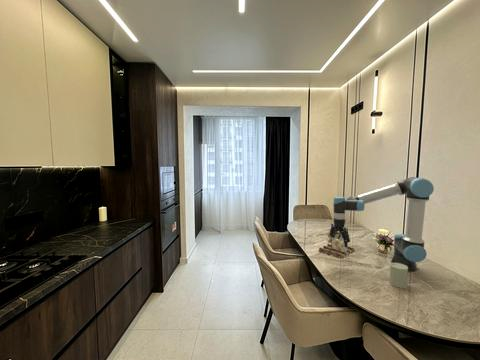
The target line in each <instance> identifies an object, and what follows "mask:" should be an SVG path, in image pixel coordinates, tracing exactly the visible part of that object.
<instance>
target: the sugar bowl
mask: <svg viewBox="0 0 480 360" xmlns="http://www.w3.org/2000/svg"><path fill="white" fill-rule="evenodd" d="M330 230H331V228H329V229H328V231H327V233H326V234H327V236H328V239H329V240H330V241H331V242H332V237H331V236H330V235H329V234H330ZM335 238H336V239H339V240H341V241H343V238H342V235H341V233H340V232H339V231H338V232H337V234H336V235H335Z"/></svg>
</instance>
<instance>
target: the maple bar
mask: <svg viewBox="0 0 480 360" xmlns="http://www.w3.org/2000/svg"><path fill="white" fill-rule="evenodd" d="M331 242H332V247H333V248H335V249H337V250H339V251H341V252H343V242H344V240H339V239H332V241H331Z"/></svg>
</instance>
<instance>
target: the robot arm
mask: <svg viewBox="0 0 480 360" xmlns="http://www.w3.org/2000/svg"><path fill="white" fill-rule="evenodd" d="M434 188H435V187H434V185H433V183H432V181H430V180H429V179H426V178H423V177H412V176H411V177H407V178H404V179H401V180H398V181H396V182H394V183H393V184H391V185H388V186H387V185H386V186H384V187H382V188H378V189H374V190H371V191H367V192H365V193H362V194H358V195H354V196H348V197H347V198H346V197H344V196H334V197H333V223H330V226H331V227H330V229H331V230H330V229H329V230H330V234H329V235H330V236H331V237H332V239H336V238H335V235H336V234H337V232H338V231H339V232H340V233H341V235H342V238H343V239H342V241H344V242H343V252H345V251H347V246H349V245H348V243H350V242H351V239H350V234H349V228H348V227H345V224H346V211H349V212H350V211H353V212H363V211H364V210H365V205H367V204H370V203H373V202H376V201H380V200H383V199H387V198H391V197H394V196H397V195H399V196H404V195H406V196H405V197H406V199H407V200H408V205H407V206H408V207H407V216H406V225H405V226H406V227H405V233H404V234H403V233H397V234H394V237H393V244H394V245H393V247H394V248H393V255H392V257H391V260H390V263H400V264H403V265H406V266H407V267H408V272H413V271H416V270H417V269H418V265H417V263H420V262H423V261H424V260H425V259H426V258H427V255H428V253H427V251H426V249H425V243H426V242H425V241H424V240H423V232H424V231H423V230H424V222H425V221H424V220H425V212H426V211H425V210H426V203H427V202H428V201H430V196H431V195H432V194H433V192H434Z"/></svg>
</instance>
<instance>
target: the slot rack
mask: <svg viewBox="0 0 480 360" xmlns="http://www.w3.org/2000/svg"><path fill="white" fill-rule="evenodd" d="M318 251H320V252H319V253H322V252H323V253H322V254H325V253H326V254H325V255H328V254H329V255H328V256H331V255H332V257H334V256H335V258H337V259H342V258H345V257H346V255H347V256H348V255H350V254H351V253H352V254H353V252H355V251H356V250H355V247H352V246H349V245H348V246H347V251H345V252H341V251H339V250H337V249H335V248H333V247H332V241H331V242H330V243H327V245H323V246H322V247H320V246H319V247H318V250H317V252H318Z"/></svg>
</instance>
